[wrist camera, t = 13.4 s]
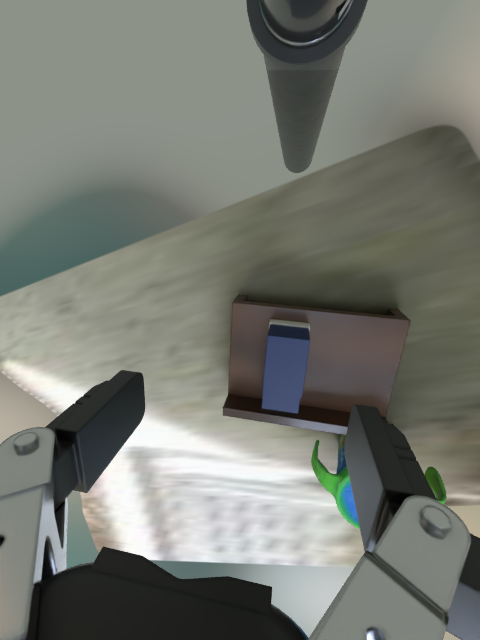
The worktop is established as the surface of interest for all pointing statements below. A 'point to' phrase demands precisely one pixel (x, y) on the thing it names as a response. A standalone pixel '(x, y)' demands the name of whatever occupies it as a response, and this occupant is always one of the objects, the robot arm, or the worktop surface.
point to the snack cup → (342, 486)
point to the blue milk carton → (285, 365)
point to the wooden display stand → (317, 363)
